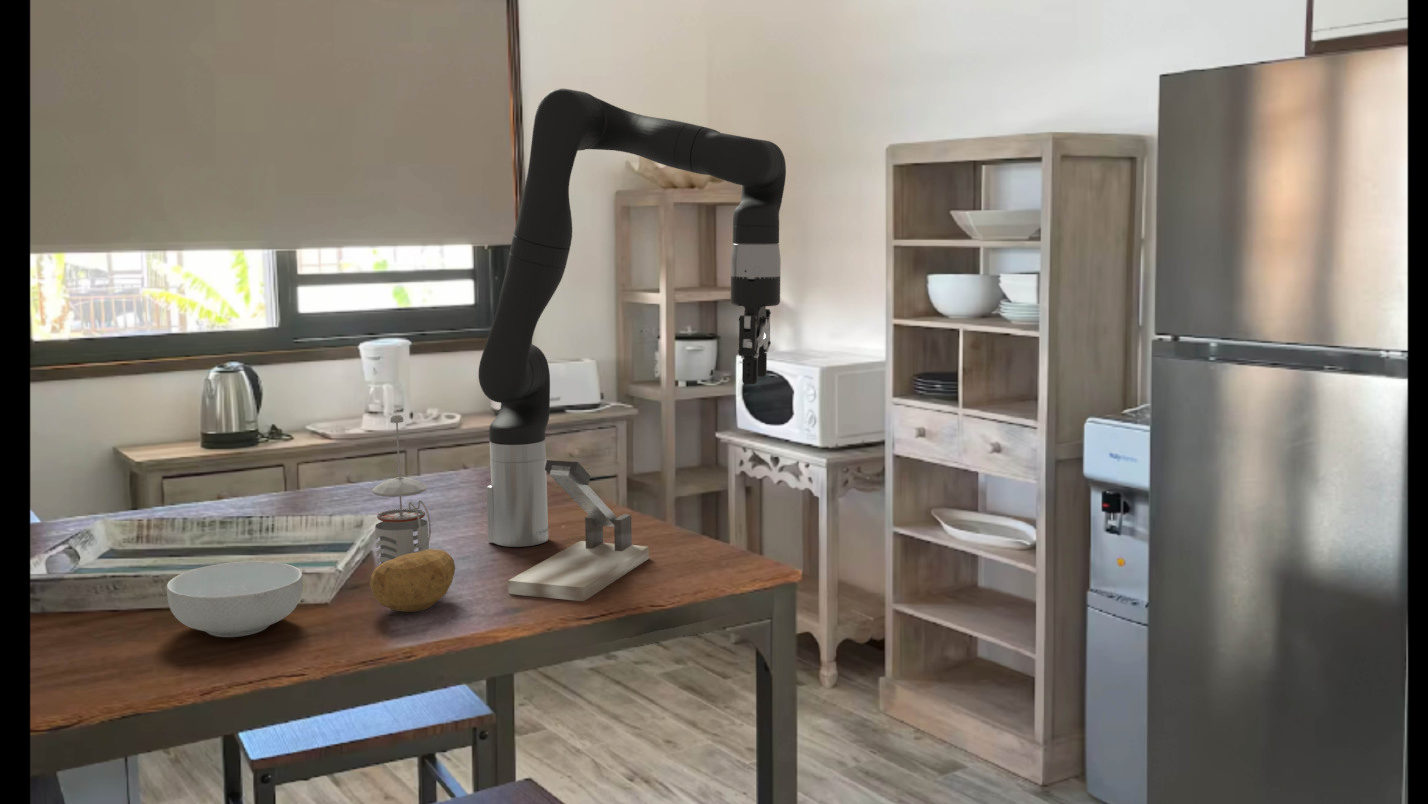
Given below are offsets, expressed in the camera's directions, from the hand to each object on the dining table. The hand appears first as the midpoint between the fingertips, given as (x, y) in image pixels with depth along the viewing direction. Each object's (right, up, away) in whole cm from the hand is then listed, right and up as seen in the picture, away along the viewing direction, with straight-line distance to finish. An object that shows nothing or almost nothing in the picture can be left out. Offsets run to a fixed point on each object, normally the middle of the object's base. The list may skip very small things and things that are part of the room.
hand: (754, 380), depth 196 cm
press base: (-26, -30, -1) cm, 40 cm away
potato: (-48, -32, -17) cm, 60 cm away
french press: (-53, -30, -1) cm, 61 cm away
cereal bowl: (-70, -34, -25) cm, 82 cm away
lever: (-26, -19, -2) cm, 32 cm away
